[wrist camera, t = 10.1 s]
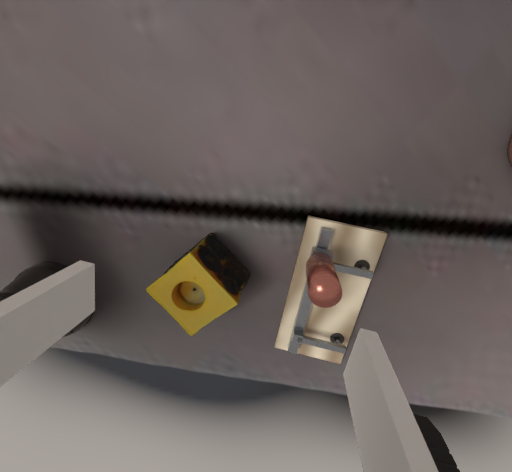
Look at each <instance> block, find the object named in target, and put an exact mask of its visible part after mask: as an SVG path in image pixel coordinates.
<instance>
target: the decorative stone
mask: <svg viewBox="0 0 512 472" xmlns="http://www.w3.org/2000/svg"><path fill="white" fill-rule="evenodd" d="M508 158H509V161H510V164H511V165H512V136H511V139H510V141H509V146H508Z"/></svg>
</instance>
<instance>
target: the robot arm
mask: <svg viewBox="0 0 512 472" xmlns="http://www.w3.org/2000/svg"><path fill="white" fill-rule="evenodd" d="M94 311H95V264H93V263H89V262H85V261H81V260H80V261H78V262H76V263H74V264H72V265H70V266H68V267H64V266H62V265H59V264H55V263H40V264H37V265H34V266H32V267H30V268H28V269H26V270H24V271H22V272H21V273H20V274H19V275H18V276H17V277H16V278H15V280H14V281H13V282H11V283H10V284H9V285H7V286H6V287H5V288H4V289H3V290H2V291H1V292H0V387H1V386H2V385H3V384H4V383H6V382H7V381H8V380H9V379H10V378H12V377H13V376H14V375H15V374H17V373H18V372H19V371H20V370H22V369H23V368H24V367H25V366H27V365H28V364H29V363H30V362H32V361H33V360H34V359H35V358H37V357H38V356H39V355H40V354H42V353H43V352H44V351H45V350H47V349H48V348H49V347H50V346H52V345H53V344H54V343H55V342H57V341H58V340H59V339H60V338H62V337H64V336H68V335H71V334H73V333H75V332H76V331H78V330H79V329H80V328H81V327H83V326H84V325H85V324H86V323H87V322H88V321H89V319H90V317H91V315H92V313H93V312H94ZM343 377H344V381H345V386H346V391H347V396H348V400H349V405H350V410H351V415H352V419H353V424H354V429H355V434H356V438H357V443H358V448H359V453H360V458H361V462H362V467H363V472H460V471H459V469H457V465H456V463H455V461H454V459H453V457H452V455H451V454H449V449H448V447H447V445H446V443H445V441H444V439H443V437H442V435H441V433H440V432H439V431H438V430H437V429H436V428H435V426H434V425H433V424H432V423H431V421H430V420H429V419H428V418H427V417H423V416H420V415H416V414H413V413H412V411H411V408H410V406H409V404H408V401H407V399H406V397H405V395H404V392H403V390H402V388H401V386H400V383H399V381H398V379H397V377H396V374H395V372H394V370H393V368H392V365H391V363H390V361H389V358H388V356H387V354H386V352H385V349H384V347H383V345H382V343H381V340H380V338H379V336H378V334H377V332H374V331H370V330H366V329H361V328H360V330H359V333H358V335H357V338H356V341H355V343H354V346H353V349H352V351H351V354H350V357H349V359H348V362H347V365H346V367H345V370H344V373H343Z"/></svg>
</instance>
